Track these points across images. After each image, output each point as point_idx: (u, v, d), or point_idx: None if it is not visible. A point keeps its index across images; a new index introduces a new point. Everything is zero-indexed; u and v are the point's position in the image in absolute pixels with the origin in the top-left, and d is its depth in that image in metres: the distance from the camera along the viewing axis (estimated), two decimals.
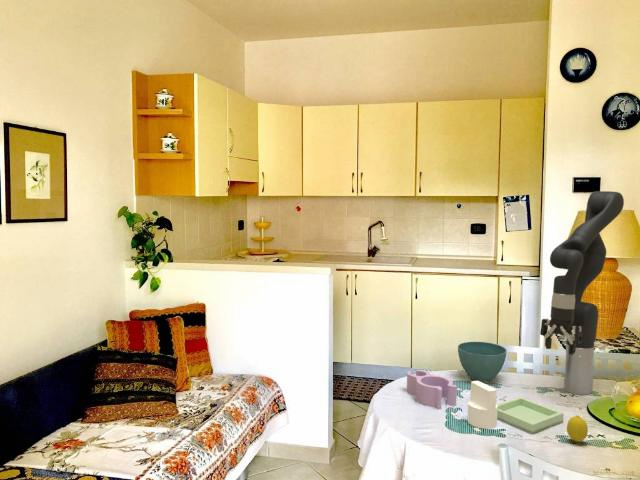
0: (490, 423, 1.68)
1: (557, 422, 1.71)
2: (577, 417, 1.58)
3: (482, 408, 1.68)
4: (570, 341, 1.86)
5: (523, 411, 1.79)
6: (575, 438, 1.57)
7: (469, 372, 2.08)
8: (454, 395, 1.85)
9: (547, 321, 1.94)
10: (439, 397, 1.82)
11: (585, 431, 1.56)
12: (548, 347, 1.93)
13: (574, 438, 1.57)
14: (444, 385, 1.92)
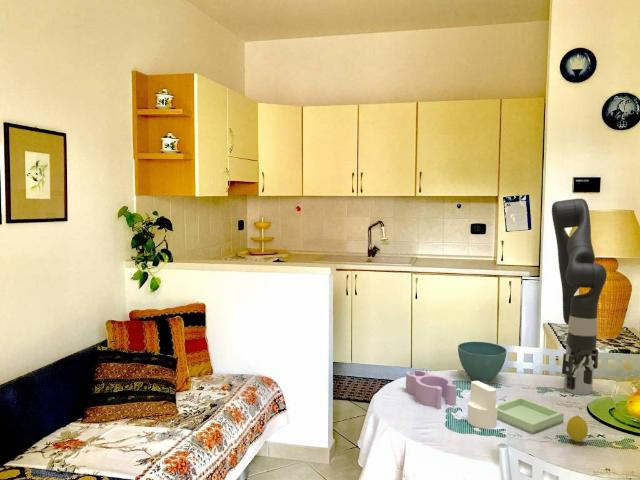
0: (490, 423, 1.68)
1: (557, 422, 1.71)
2: (577, 417, 1.58)
3: (482, 408, 1.68)
4: (592, 369, 1.59)
5: (523, 411, 1.79)
6: (575, 438, 1.57)
7: (469, 372, 2.08)
8: (453, 395, 1.85)
9: None
10: (439, 397, 1.82)
11: (585, 431, 1.56)
12: None
13: (574, 438, 1.57)
14: (443, 385, 1.93)
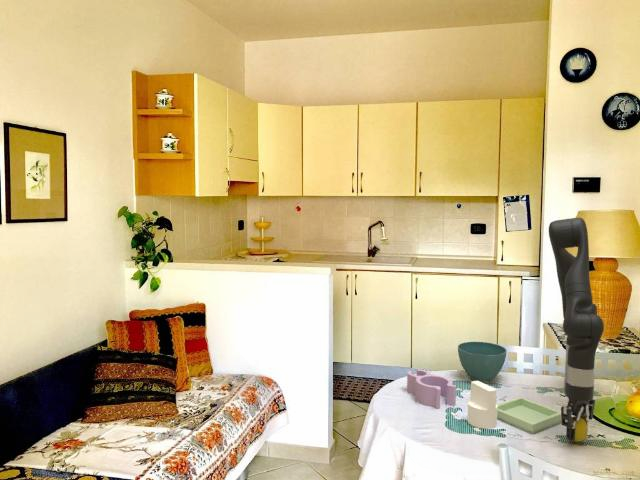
0: (490, 423, 1.68)
1: (557, 422, 1.71)
2: None
3: (482, 408, 1.68)
4: (587, 420, 1.60)
5: (523, 411, 1.79)
6: (575, 438, 1.57)
7: (469, 372, 2.08)
8: (453, 395, 1.85)
9: (569, 408, 1.55)
10: (438, 397, 1.82)
11: (585, 431, 1.56)
12: None
13: None
14: (444, 385, 1.93)
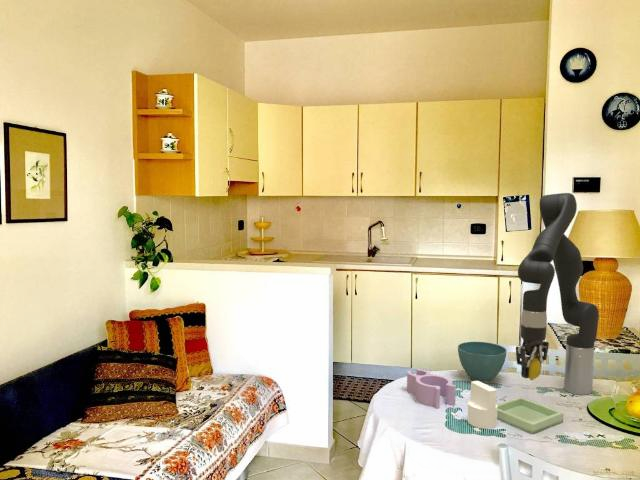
0: (490, 423, 1.68)
1: (557, 422, 1.71)
2: None
3: (482, 408, 1.68)
4: (541, 360, 1.73)
5: (523, 411, 1.79)
6: (529, 376, 1.71)
7: (469, 372, 2.08)
8: (452, 395, 1.85)
9: (523, 348, 1.69)
10: (437, 396, 1.82)
11: (538, 369, 1.70)
12: None
13: None
14: (444, 385, 1.93)
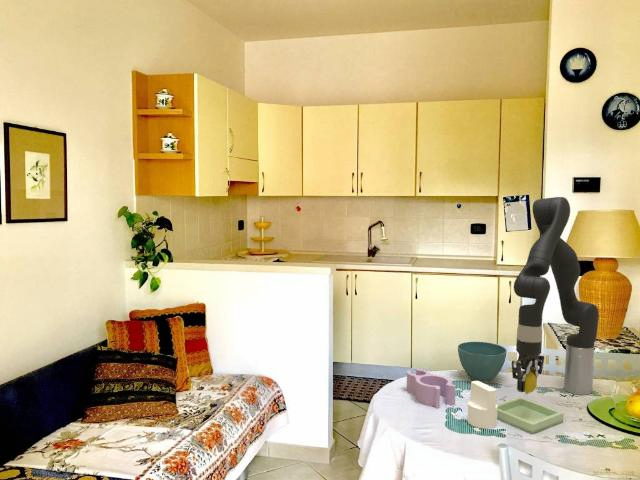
0: (490, 423, 1.68)
1: (557, 422, 1.71)
2: None
3: (482, 408, 1.68)
4: (537, 374, 1.75)
5: (523, 411, 1.79)
6: (525, 390, 1.72)
7: (469, 372, 2.08)
8: (452, 394, 1.85)
9: (519, 362, 1.70)
10: (437, 396, 1.82)
11: (534, 383, 1.72)
12: None
13: None
14: (443, 384, 1.93)
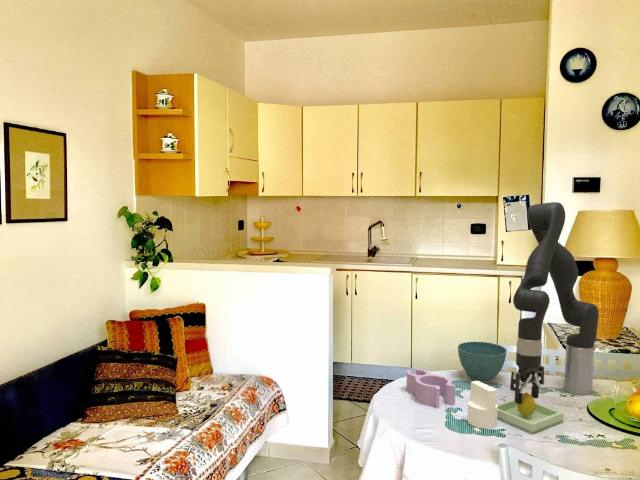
0: (490, 423, 1.68)
1: (557, 422, 1.71)
2: (525, 394, 1.74)
3: (482, 408, 1.68)
4: (538, 384, 1.75)
5: None
6: (524, 413, 1.73)
7: (469, 372, 2.08)
8: (452, 394, 1.85)
9: None
10: (437, 396, 1.83)
11: (532, 406, 1.72)
12: None
13: (523, 413, 1.73)
14: (443, 384, 1.93)
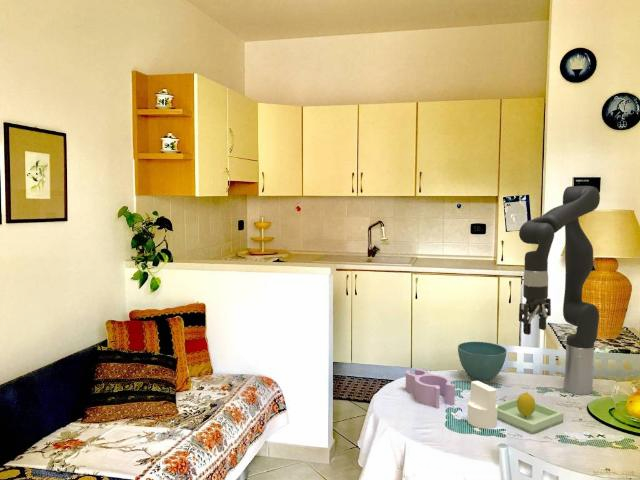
0: (490, 423, 1.68)
1: (557, 422, 1.71)
2: (525, 394, 1.74)
3: (482, 408, 1.68)
4: (546, 316, 1.80)
5: None
6: (524, 413, 1.73)
7: (469, 372, 2.08)
8: (452, 394, 1.86)
9: None
10: (437, 396, 1.83)
11: (532, 406, 1.72)
12: None
13: (523, 413, 1.73)
14: (442, 384, 1.93)
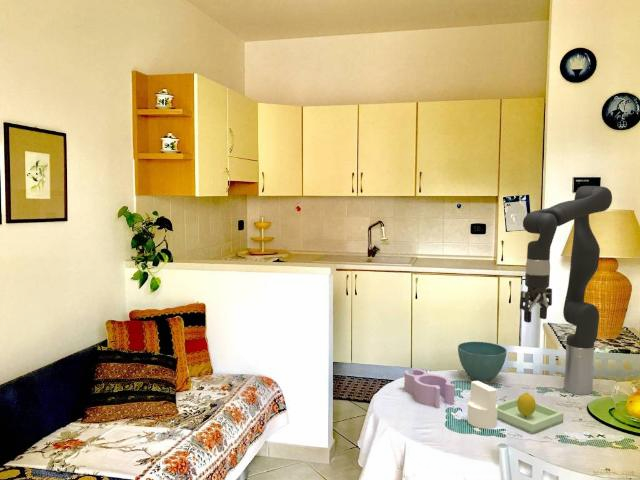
0: (490, 423, 1.68)
1: (557, 422, 1.71)
2: (526, 394, 1.74)
3: (482, 408, 1.68)
4: (546, 305, 1.83)
5: None
6: (524, 413, 1.73)
7: (469, 372, 2.08)
8: (452, 394, 1.86)
9: None
10: (437, 396, 1.83)
11: (533, 406, 1.72)
12: None
13: (523, 413, 1.73)
14: (442, 384, 1.93)
